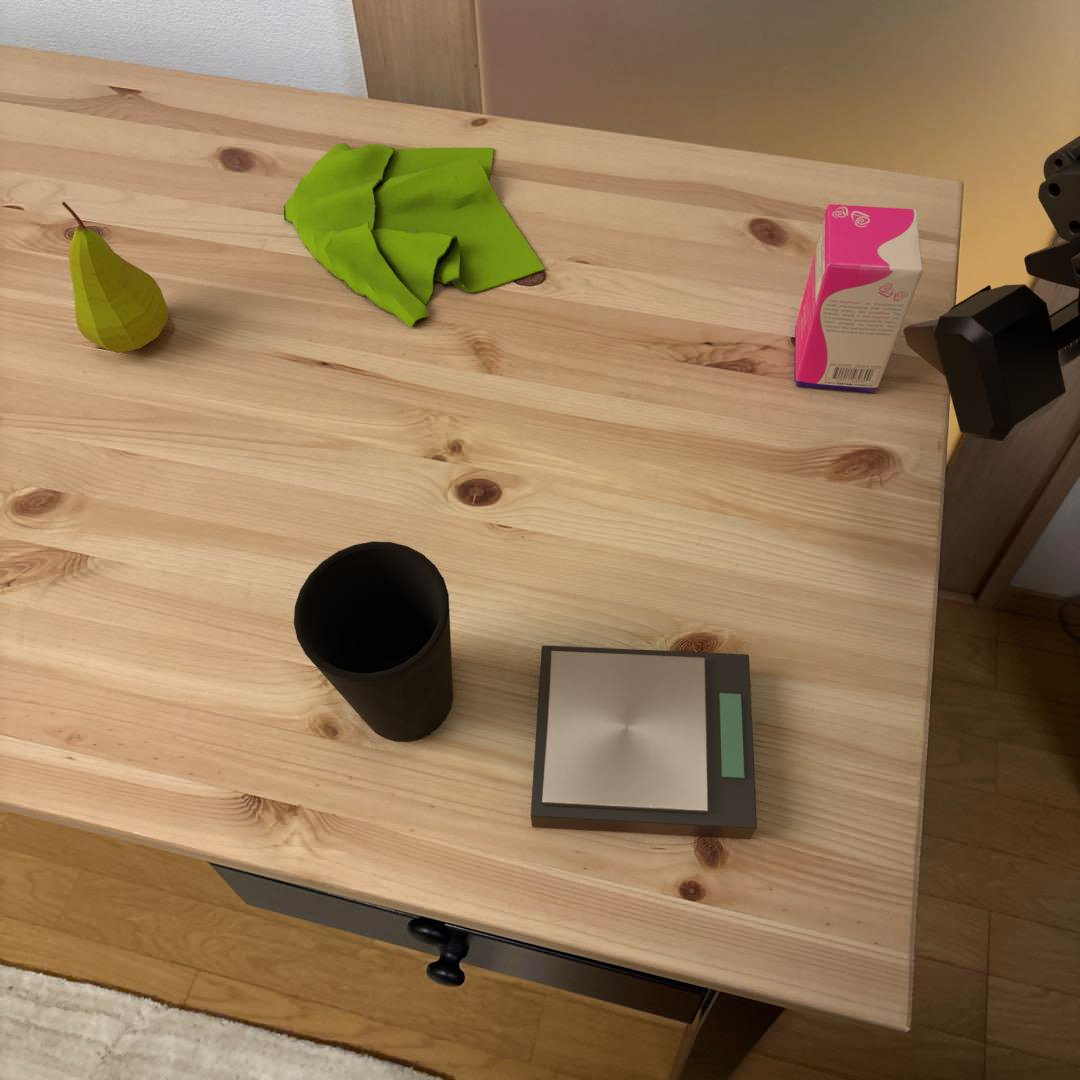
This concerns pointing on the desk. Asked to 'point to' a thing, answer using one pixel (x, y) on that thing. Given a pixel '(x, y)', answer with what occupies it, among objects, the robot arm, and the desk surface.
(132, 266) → the fruit
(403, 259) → the cloth
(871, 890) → the desk surface
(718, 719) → the scale
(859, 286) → the supplement box
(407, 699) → the cup
